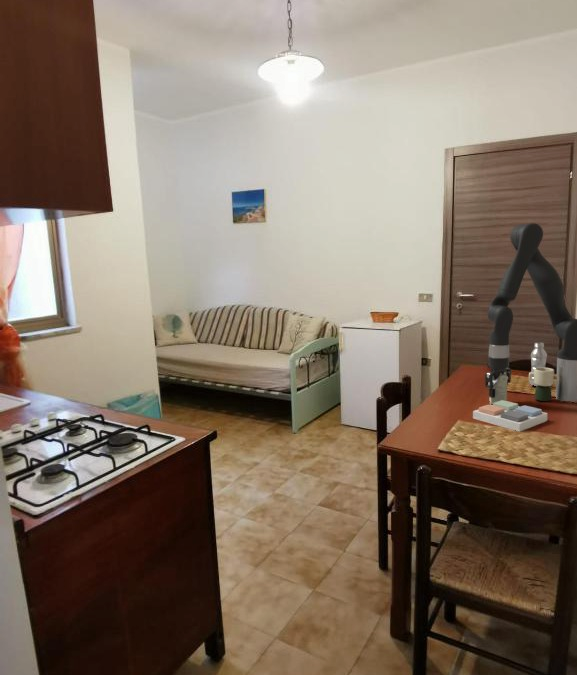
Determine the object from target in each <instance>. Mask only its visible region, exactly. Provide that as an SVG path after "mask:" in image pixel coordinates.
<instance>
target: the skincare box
mask: <svg viewBox="0 0 577 675" xmlns="http://www.w3.org/2000/svg"><path fill="white" fill-rule="evenodd" d="M507 379H508V377H507V375H502V376H501V377H500V379H499V382H498V384H496V387H495V398H491V397H489V396H488V397H489V399H488V400H489V401H490V402H489V405H491V404H493V403H495V402H498V401H501V400H504V401H508V385H507ZM493 381H496V380H495V379H494V376H493ZM493 384H494V383H493Z"/></svg>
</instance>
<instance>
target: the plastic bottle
mask: <svg viewBox="0 0 577 675" xmlns="http://www.w3.org/2000/svg"><path fill="white" fill-rule="evenodd" d="M533 345H534V348H533V350H532V351H531V353H530V359H531V360H530V362H531V363H530V364H531V366H530V367H531V369H530V370H531V371H530V372H532V373H534V369H535V368H540V367H544V368H546V364H547V357H548V353H547V351H546V350H545V349H544V348H545V343H544V342H541V341H539V342H534V344H533ZM531 378H534V375H532V376H531ZM528 380H529V379H528ZM530 384H531V385H534V386H538V385H536V384H535V383H534V381H533V380H529V385H530ZM531 385H530V386H531Z"/></svg>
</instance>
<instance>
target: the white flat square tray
mask: <svg viewBox="0 0 577 675" xmlns="http://www.w3.org/2000/svg"><path fill="white" fill-rule="evenodd" d="M518 407H520V406H519V405H518ZM513 411H515V409H514V410H513ZM504 412H507V411H505V410H504ZM472 419H474V420H477V421H481V422H484V423H488V424H491V425H495V426H498V427H502V428H505V429H508V430H511V431H515V430H516V431H515V432H518V431H519V432H523V431H526V430H528V429H530V428H532V427H536V426H537V425H540V424H543V423H545V422H547V421H548V412H543V411H542V414H540V415H537V416H534V417H529V416H528V419H526V420H524V421H521V422H515V421H511V420H508V419H504V418H501V414H499V415H496V416H493V415H489V414H485V413H482V412H479V408H478V409H475V410H473V411H472ZM519 432H518V433H519Z"/></svg>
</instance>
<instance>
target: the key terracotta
mask: <svg viewBox="0 0 577 675" xmlns="http://www.w3.org/2000/svg"><path fill="white" fill-rule="evenodd" d="M478 409H479V412H482V413H485V414H489V415H493V416H496V415H499V414H501V413H504V410H505V408H501V407H497V406H493V405H491V404H490V403H489V404H485V405H483V406H479V407H478Z"/></svg>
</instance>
